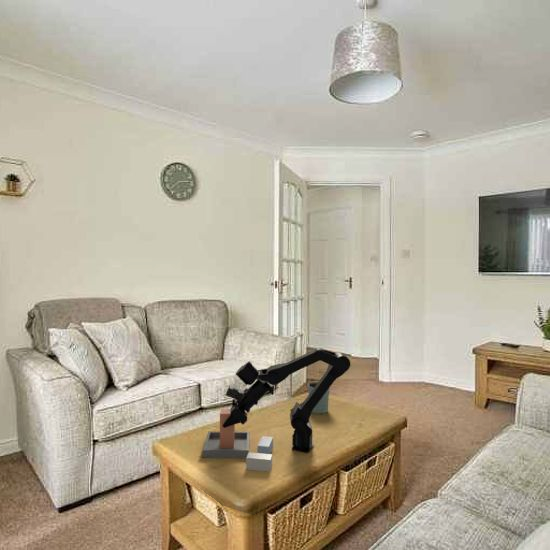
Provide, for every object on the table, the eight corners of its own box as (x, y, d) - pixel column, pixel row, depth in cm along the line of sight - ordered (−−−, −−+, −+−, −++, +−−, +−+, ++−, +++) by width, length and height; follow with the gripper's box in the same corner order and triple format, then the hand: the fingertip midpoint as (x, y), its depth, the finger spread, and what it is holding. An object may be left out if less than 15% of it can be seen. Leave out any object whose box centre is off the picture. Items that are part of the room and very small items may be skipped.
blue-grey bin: (323, 416, 181) (323, 389, 181) (303, 411, 186) (303, 385, 186) (332, 409, 189) (333, 384, 189) (313, 405, 195) (314, 380, 195)
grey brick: (272, 466, 135) (272, 454, 135) (270, 472, 131) (270, 460, 131) (248, 464, 136) (248, 452, 136) (246, 469, 132) (246, 457, 132)
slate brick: (262, 447, 149) (262, 436, 149) (272, 448, 148) (273, 437, 148) (257, 456, 141) (257, 445, 141) (268, 458, 140) (268, 446, 140)
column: (234, 442, 150) (234, 408, 150) (233, 448, 145) (233, 413, 145) (221, 442, 150) (221, 408, 150) (219, 448, 145) (219, 413, 145)
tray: (249, 438, 156) (249, 431, 156) (248, 457, 140) (248, 450, 140) (208, 438, 155) (208, 431, 155) (202, 457, 139) (202, 450, 139)
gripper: (240, 371, 157) (211, 399, 156) (237, 385, 138) (204, 417, 138) (260, 391, 157) (231, 419, 157) (260, 408, 138) (227, 440, 138)
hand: (223, 423), depth 147 cm, fingers open, 6 cm apart
